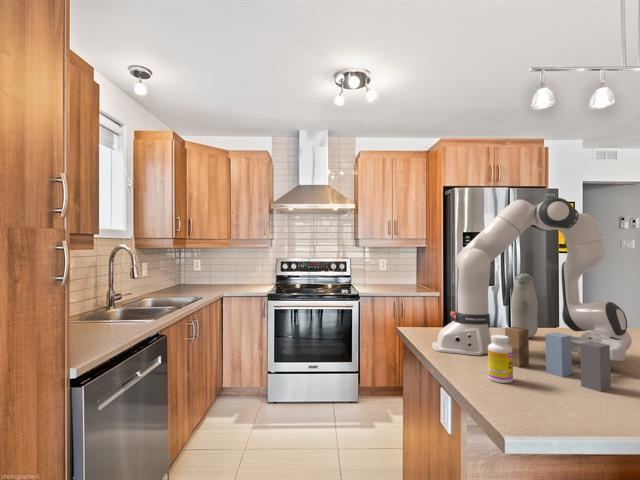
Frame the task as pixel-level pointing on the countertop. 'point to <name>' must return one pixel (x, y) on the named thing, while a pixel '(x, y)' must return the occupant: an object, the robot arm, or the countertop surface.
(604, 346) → the charcoal block
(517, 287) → the grey-green tall rounded cylinder
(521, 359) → the walnut block
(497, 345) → the supplement bottle
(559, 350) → the slate-blue block
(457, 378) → the countertop surface
